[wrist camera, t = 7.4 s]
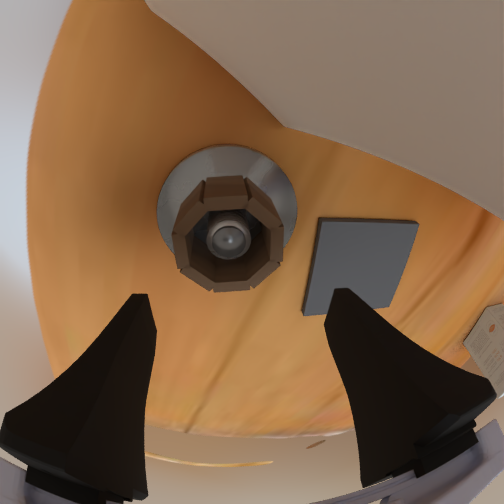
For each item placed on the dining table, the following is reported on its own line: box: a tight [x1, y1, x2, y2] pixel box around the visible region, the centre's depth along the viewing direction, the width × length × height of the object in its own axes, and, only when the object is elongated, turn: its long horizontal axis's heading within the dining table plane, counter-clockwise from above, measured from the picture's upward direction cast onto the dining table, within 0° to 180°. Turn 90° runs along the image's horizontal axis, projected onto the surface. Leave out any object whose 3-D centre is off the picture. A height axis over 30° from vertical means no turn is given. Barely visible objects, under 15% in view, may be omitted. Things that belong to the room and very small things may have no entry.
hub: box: [157, 144, 297, 259], centre depth 17 cm, size 9×9×4 cm
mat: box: [302, 218, 419, 316], centre depth 22 cm, size 9×9×1 cm
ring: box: [171, 175, 284, 292], centre depth 16 cm, size 6×6×4 cm
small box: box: [463, 303, 504, 399], centre depth 27 cm, size 8×6×13 cm
